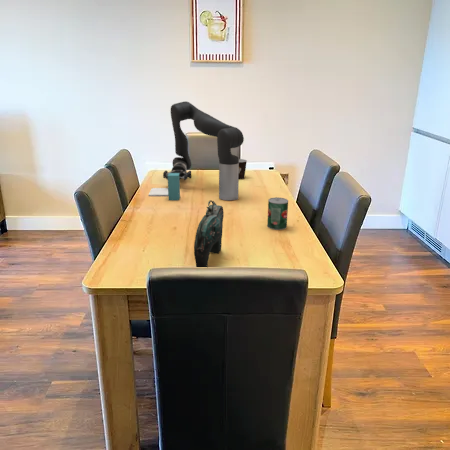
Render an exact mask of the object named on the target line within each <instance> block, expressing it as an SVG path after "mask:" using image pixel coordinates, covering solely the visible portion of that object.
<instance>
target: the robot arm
mask: <svg viewBox="0 0 450 450" xmlns="http://www.w3.org/2000/svg"><path fill="white" fill-rule="evenodd" d="M170 118H171V125H172V128H173V129H172V130H173V134H174V135H173V136H174V146H175V148H174V149H175V154H176V157H174V158H173V159H172V168H171V170H170V171H167V170H164V171H163V173H162V174H163V175H162V177H163V178H164V179H166V181H168V174H169V173H179V178H180V180H182V179H183V180H184V181H186V180H188V179H191V178H192V171H191V168H192V161H191V158H190V154H189V141H188V138H187V136H186V133H184V132H183V130H182V128H181V127H182V126H181V122H182V121H187V120H193V126H194V128H195V129H196V131H199V132H200V133H202V134H203V135H206V136H210V137H215V138H216V141H217V142H216V145H217V157H218V161H219V162H218V166H219V167H218V180H219V181H218V198H219V200H223V201H236V200H239V181H240V179H238V172H239V159H240V158H239V156H237V155H235V154H232V150H231V149H237V148H239V147H240V146H242V145H243V144H244V141H245V138H244V134H243V132H242V131H241V130H240V129H239V128H238V127H235V126H233V125H229V124H226V123H225V122H222V121H221V120H219V119H217V118H215V117H214V116H212V115H210V114H209V113H207V112H204V111H202V110H201V109H199V108H197V107H196V106H195V105H194V104H192V103H191V102H189V101H181V102H177V103H173V104H171V106H170Z"/></svg>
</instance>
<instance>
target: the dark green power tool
mask: <svg viewBox="0 0 450 450" xmlns="http://www.w3.org/2000/svg"><path fill="white" fill-rule="evenodd" d="M211 203H212V204H211ZM206 208H207V209H206V212H205V214H204V216H202V218H201V220H200V222H199V223H198V225H197V228H196V232H195V238H194V244H193V250H194V251H193V254H194V260H195V267H207V268H209V265H208V264H209V259H210V254H220V252H221V251H222V239H223V228H224V227H223V224H224V223H223V222H224V213H225V212H224V208H223V206H222V205H219V204H217V203H216V202H215V200H211V199H210V200H208V201H207V206H206Z"/></svg>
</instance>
